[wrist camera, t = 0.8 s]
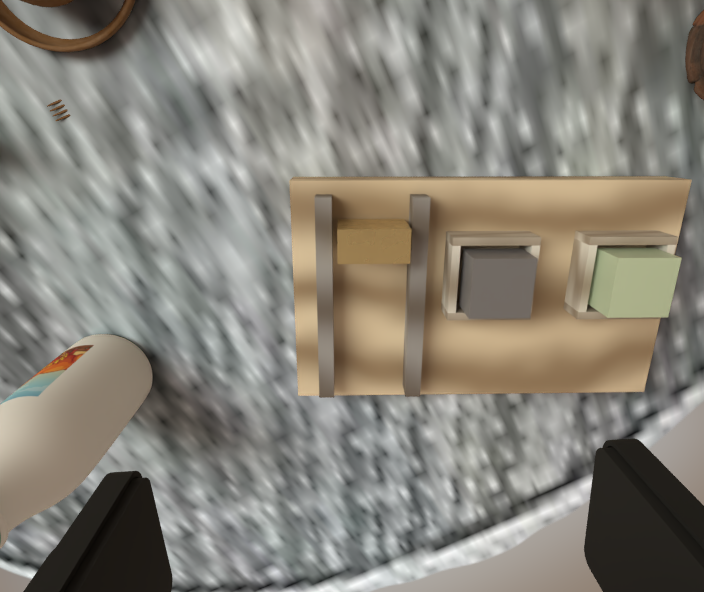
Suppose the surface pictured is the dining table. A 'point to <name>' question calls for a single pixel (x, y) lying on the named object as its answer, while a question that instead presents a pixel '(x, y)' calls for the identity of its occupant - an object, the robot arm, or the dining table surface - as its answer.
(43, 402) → the milk bottle
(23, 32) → the place setting
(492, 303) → the charcoal button
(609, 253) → the green button
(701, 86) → the brown curved piece
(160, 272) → the dining table surface
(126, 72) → the dining table surface
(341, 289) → the control panel
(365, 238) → the brass lever
